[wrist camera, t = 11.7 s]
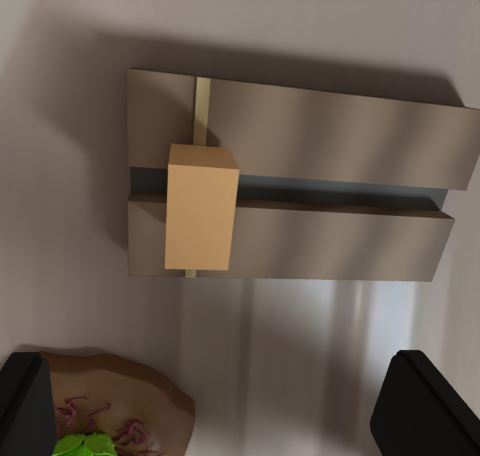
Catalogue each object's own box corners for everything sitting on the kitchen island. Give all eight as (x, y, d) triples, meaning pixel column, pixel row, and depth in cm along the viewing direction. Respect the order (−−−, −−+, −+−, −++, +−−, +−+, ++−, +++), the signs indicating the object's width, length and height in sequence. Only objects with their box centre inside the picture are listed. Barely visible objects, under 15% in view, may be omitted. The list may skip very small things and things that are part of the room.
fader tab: (224, 141, 25) (239, 169, 19) (216, 221, 28) (227, 270, 21) (171, 137, 25) (168, 164, 18) (168, 218, 27) (164, 268, 21)
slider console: (465, 107, 28) (497, 112, 25) (411, 264, 34) (433, 282, 31) (132, 67, 24) (125, 68, 21) (133, 255, 30) (128, 276, 27)
